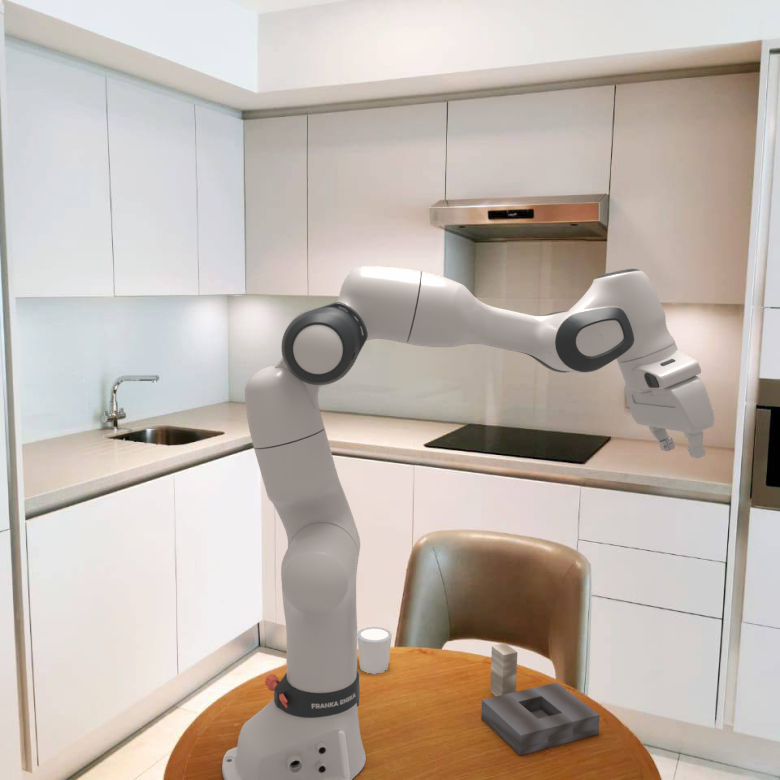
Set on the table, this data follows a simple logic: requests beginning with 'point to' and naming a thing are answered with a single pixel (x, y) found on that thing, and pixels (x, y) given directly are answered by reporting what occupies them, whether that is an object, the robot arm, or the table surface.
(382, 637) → the white cup
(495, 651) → the peg
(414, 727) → the table surface
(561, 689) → the slot holder
